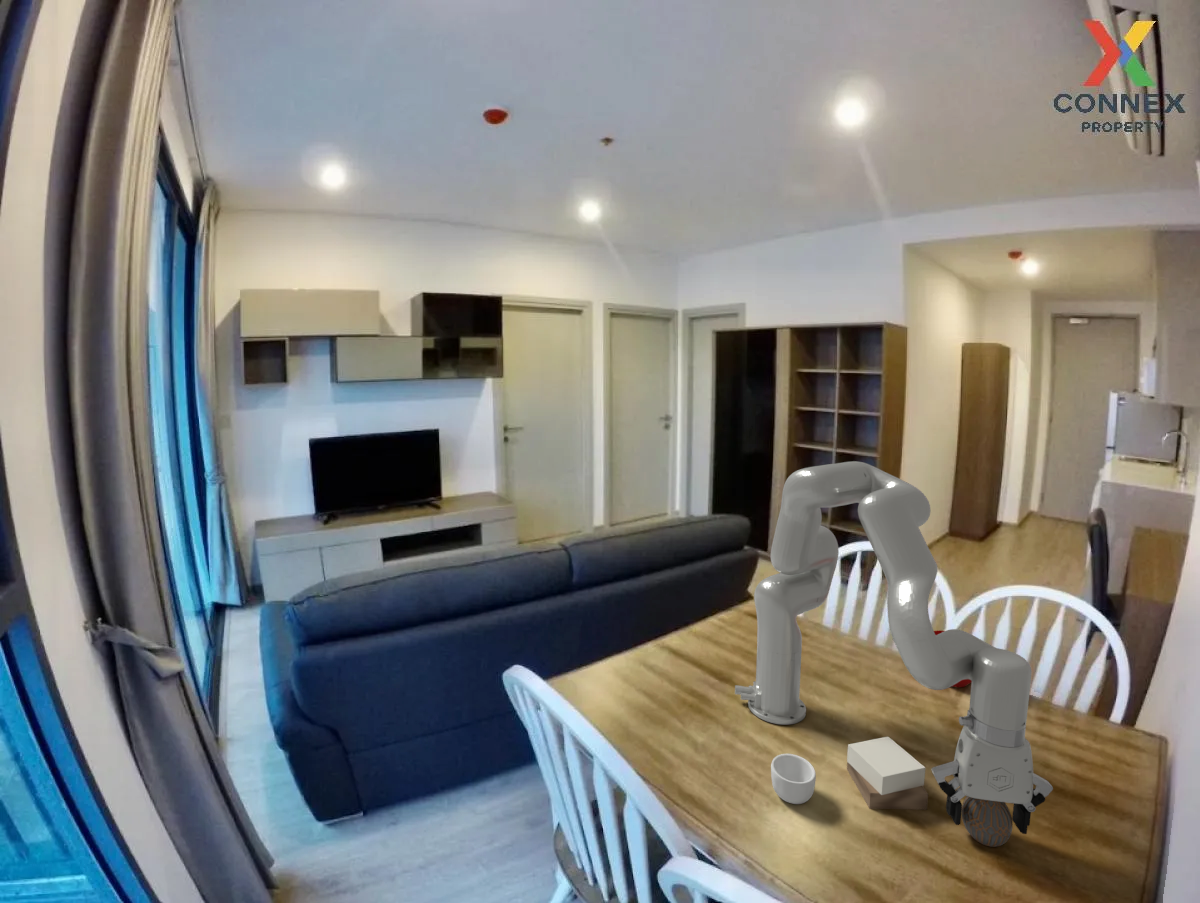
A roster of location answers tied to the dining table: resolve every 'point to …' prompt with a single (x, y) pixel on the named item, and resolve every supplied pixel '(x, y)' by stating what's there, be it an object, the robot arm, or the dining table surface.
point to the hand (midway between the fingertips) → (986, 822)
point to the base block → (889, 795)
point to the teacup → (793, 778)
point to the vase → (987, 821)
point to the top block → (885, 765)
